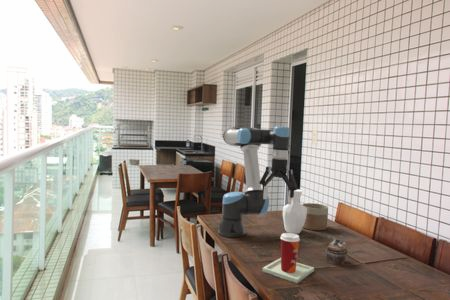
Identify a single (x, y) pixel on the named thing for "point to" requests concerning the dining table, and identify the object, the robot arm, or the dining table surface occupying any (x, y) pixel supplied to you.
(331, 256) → the cupcake
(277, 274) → the tray
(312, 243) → the dining table surface
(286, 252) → the coffee cup
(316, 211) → the planter
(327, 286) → the dining table surface
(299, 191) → the vase
